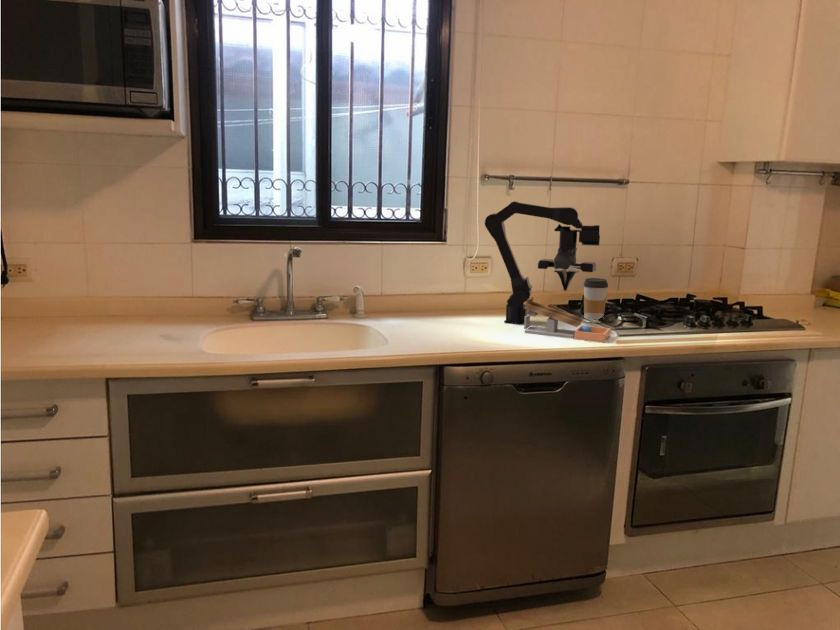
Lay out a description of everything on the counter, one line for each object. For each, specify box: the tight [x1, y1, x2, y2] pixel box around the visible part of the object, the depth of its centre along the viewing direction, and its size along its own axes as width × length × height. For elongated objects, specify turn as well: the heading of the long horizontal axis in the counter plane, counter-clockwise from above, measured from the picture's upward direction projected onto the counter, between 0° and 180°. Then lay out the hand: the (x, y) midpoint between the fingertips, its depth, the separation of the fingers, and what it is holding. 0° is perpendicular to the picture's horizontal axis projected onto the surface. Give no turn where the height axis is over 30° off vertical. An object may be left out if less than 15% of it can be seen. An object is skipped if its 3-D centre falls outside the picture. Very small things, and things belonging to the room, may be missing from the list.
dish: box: [574, 324, 612, 344], centre depth 208 cm, size 9×9×3 cm
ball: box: [581, 325, 591, 332], centre depth 209 cm, size 3×3×3 cm
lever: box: [524, 296, 584, 328], centre depth 215 cm, size 18×10×5 cm, turn 63°
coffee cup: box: [583, 277, 609, 319], centre depth 230 cm, size 8×8×15 cm
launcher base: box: [523, 314, 577, 339], centre depth 214 cm, size 17×8×5 cm, turn 63°
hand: (565, 290), depth 224 cm, fingers closed
